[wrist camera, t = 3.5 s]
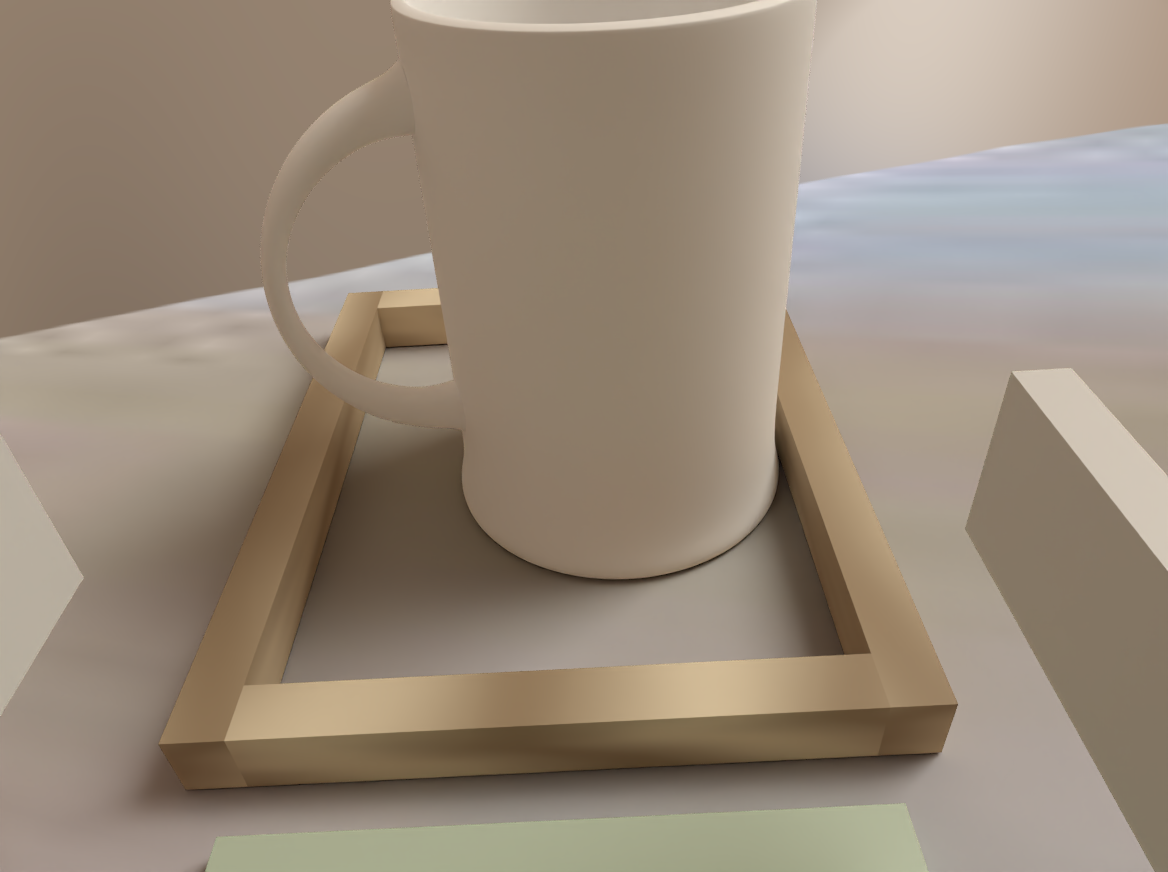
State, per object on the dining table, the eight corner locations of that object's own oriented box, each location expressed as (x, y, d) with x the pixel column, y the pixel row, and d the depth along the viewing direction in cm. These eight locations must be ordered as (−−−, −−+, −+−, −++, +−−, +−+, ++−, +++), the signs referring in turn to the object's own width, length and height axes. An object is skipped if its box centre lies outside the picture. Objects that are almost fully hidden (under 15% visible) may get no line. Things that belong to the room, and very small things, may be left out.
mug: (341, 646, 19) (147, 81, 12) (339, 427, 26) (215, -19, 18) (834, 542, 21) (927, -4, 14) (713, 362, 27) (732, -67, 20)
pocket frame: (765, 308, 30) (768, 269, 29) (941, 752, 16) (958, 703, 15) (357, 331, 30) (348, 293, 29) (185, 789, 16) (158, 743, 15)
